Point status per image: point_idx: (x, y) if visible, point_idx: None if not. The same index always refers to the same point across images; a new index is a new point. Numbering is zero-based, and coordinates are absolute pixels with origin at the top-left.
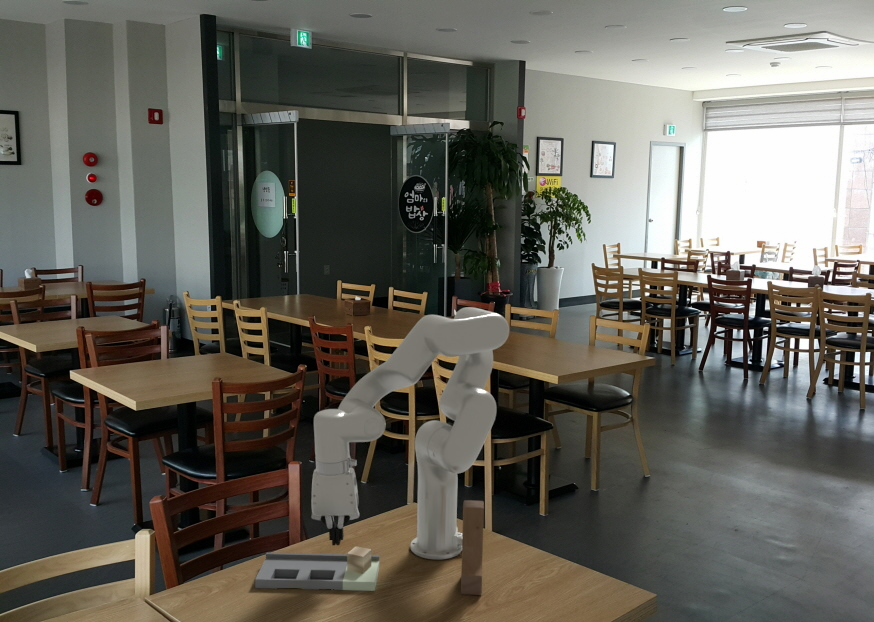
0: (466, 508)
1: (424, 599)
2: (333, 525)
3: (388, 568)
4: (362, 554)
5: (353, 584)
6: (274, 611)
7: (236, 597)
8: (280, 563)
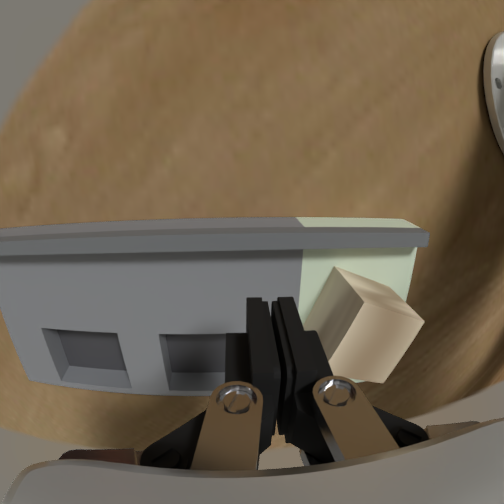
0: None
1: (459, 366)
2: (265, 444)
3: (427, 224)
4: (383, 370)
5: None
6: (135, 446)
7: (30, 395)
8: (37, 289)
